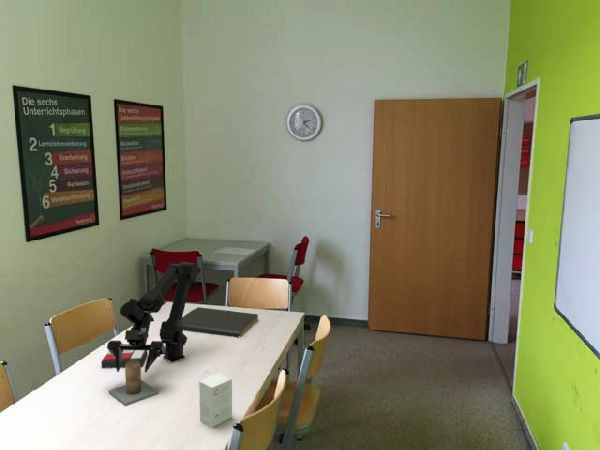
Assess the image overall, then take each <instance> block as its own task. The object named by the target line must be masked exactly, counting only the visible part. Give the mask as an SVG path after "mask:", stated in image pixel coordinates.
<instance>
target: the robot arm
mask: <svg viewBox="0 0 600 450" xmlns="http://www.w3.org/2000/svg"><path fill="white" fill-rule="evenodd" d="M199 272H200V270H199V267H198V265H197V264H196V263H193V262H192V263H191V262H186V261H185V262H184V261H181V262H180V263H171V264H169V265H168V267H167V269H166V270H165V272H164V274H163V275H162V276H161V278H160V279H159V281H158V282H157V283H156V285H155V286H154V287H153V288H152V289H150V290H148V291H146V292H145V293H144V294H143V295H142V296H141V298H140V299H138V300H136V299H134V298H130V299H129V301H127V302H125V303H124V304H122V305H121V307H120V309H119V314H120V315H121V316H122V317H123V318H124V319H125V320H127V321H128V322H129V323H131V324H132V327H130V330H129V329H128V330H127V329H126V330H125V335H124V340H125V341H126V344H125V343H122V341H121V340H109V341H108V342H107V346H106V349H107V350H108V351H110V353H111V354H113V355H114V356H115V359H116V368H115V369H116V372H117V373H119V372H120V371H121V368H120V367H121V362H122V358H123V354H122V352H123V350H147V351H148V357H147V359H146V361H145V366H144V373H148V371H149V369H150V368H151V366H152V365H153V364H154V362H155V361H156V360H157V358H160V357H161V355H162V356H163V358H164V359H165V360H167V361H169V362H171V363H174V362H177V361H179V360H183V359H185V358H186V355H184V346H185V345H186V343H187V341H188V337H187V335H185V334H184V330H183V325H182V322H181V319H182V317H183V316H184V315H183V314H184V311H185V306H186V302H187V299H188V294H189V291H190V287H191V285H192V284H193V283H194V282H195V281H196V280H197V276H198V275H199ZM176 281H177V284H176V289H175V292H174V297H173V300H172V305H171V308H170V312H169V316H168V318H167V319H166V320H165V321H162V322H161V325H160V326H161V327H160V329H159V337H160V341H158V340H152V341H150V344H147V342H148V338H149V335H150V334H149V332H150V326H151V323H152V322H155V320H154V317H153V316H152V314H150V313H153V314H157V313H159V312H160V311H161V309H162V307H163V305H164V303H165V296H166V294H167V293H168V292H169V290H171V288H172V286H173V285H174V284H175V282H176Z"/></svg>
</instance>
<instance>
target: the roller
mask: <svg viewBox="0 0 600 450" xmlns="http://www.w3.org/2000/svg"><path fill="white" fill-rule="evenodd" d="M124 377H125V379H124V380H125V385H126V393H127V394H131V395H132V394H137V393H139V392H141V380H142V367H141V362H140V361H138V360H131V361H128V362H126V363H125V367H124Z"/></svg>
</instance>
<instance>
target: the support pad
mask: <svg viewBox="0 0 600 450" xmlns="http://www.w3.org/2000/svg"><path fill="white" fill-rule="evenodd" d="M159 393H160V392H159V390H157V389H156V388H154V387H153V386H151V385H150V384H149V383H147V382H145V381H144V380H143V379H141V392H139V393H137V394H132V395H131V394H127V393H126V384H124V385H121V386H118V387H116V388H112V389H110V390H108V394H109V395H111V396H112V397H113V398H115V399H116V400H117V401H118V402H119V403H121V404H122V405H123V406H124V407H126V406H130V405H131V404H134V403H137V402H139V401H142V400H146V399H148V398H150V397H152V396H155V395H158V394H159Z"/></svg>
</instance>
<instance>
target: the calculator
mask: <svg viewBox="0 0 600 450" xmlns="http://www.w3.org/2000/svg"><path fill="white" fill-rule="evenodd" d="M122 354H123V358H122V362H121V367H120V369H121V368H123V369H124V368H125V363H126V362H128V361H131V360H138V361H140V362H141V368H143V367H144V364H146V362H147V358H148V354H149V351H148V350H123V352H122ZM101 369H117V368H116V359H115V356H114V355H113V354H111V353H110V351H109V350H108V351H107V353H106V354H105V356H104V357H103V359H101Z"/></svg>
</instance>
